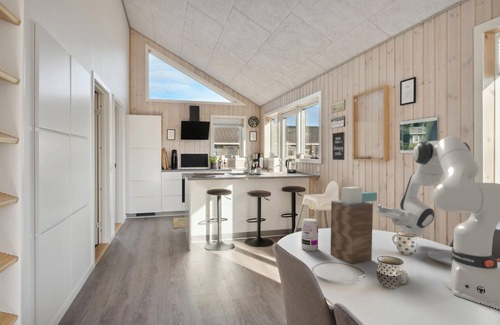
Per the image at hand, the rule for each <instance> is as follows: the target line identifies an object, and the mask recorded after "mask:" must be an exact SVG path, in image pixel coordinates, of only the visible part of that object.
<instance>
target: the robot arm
mask: <svg viewBox="0 0 500 325" xmlns="http://www.w3.org/2000/svg"><path fill="white" fill-rule="evenodd" d="M412 156H413V160H414V161H415V163H417V167H416V171H415V172H413V173H412V174H411V175H410V177H409V180H408V182H407V186H406V189H405V192H404V195H403V196H402V198H401V200H400V203H399V206H400V207H399V208H400V209H398V208H396V207H393V208H390V207H385V206H382V205H381V204H377V205H376V208H375V210H374V212H375V213H376V214H377V215H379V216H382V217H383V218H387V219H390V220H391V222H392V223H393V224H394V225H395V226H396V227H397V228H398V229H400V230H402V231H403V232H404V233H406V234H408V233H412V234H416V235H417V236H416V237H421V236H423V234H425V231H426V227H427V226H429V225H430V224H432V222H433V221H434V219H435V210H434V209H432V207H430V206H429V205H427V204H426V203H424V202H423V201H421V200H420V199H419V198H418V193H419V190H420V189H421V188H420V187H421V186H422V187H432V186H435V185H436V186H435V187H434V189H433V191H432V201H433V204H434V205H435V206H436V207H437V209H439V210H442V211H446V212H450V213H456V214H457V213H458V214H459V213H460V214H462V213H463V214H470V216H469V217H468V219H466V220H465V221H463V222H460V223H458V224H457V225H455V227H454V230H453V244H452V245H453V246H452V248H451V269H450V274H449V277H448V280H447V283H446V287H447V288H448V289H449V290H451V292H452V294H453V295H454V296H456V297H459V298H462V299H465V300H467V301H471V302H474V303H477V304H480V303H481V304H480V305H483V304H484V305H483V306H486V305H487V306H486V307H489V306H491V307H490V308H492V307H493V308H492V309H495V308H496V310H498V309H499V310H498V311H500V268H499V267H498V263H500V258H496V257H495V256H494V254H492V253H493V252H492V251H493V239H494V234H495V231H496V229H497V226H498V225H499V223H500V183H495V182H475V181H472V180H474V179H475V178H476V177H477V176H478V174H479V166H478V164H477V162H476V159H475V157H474V156H473V154H472V153H471V147H470V146H469V144H468V143H467V142H465V141H463V140H462V139H460V138H459V137H457V136H454V135H453V136H452V135H451V136H446V137H443V138H441V139H440V140H430V141H426V140H425V141H420V142H417V143H416V144H415V145H414V147H413V150H412ZM443 174H444V179H443V180H442V178H443ZM441 180H442V182H440V181H441Z"/></svg>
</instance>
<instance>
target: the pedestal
mask: <svg viewBox="0 0 500 325" xmlns="http://www.w3.org/2000/svg"><path fill="white" fill-rule="evenodd" d="M330 203H331V206H330V207H331V209H330V213H331V214H330V253H329V254H330V255H331V256H334V257H335V258H338V259H340V260H342V261H344V262H346V263H348V264H351V265H355V264H359V263H364V262H368V261H372V260H373V258H372V257H373V256H372V254H373V219H374V218H373V216H374V215H373V212H374V209H373V208H374V204H373V203H370V202H362V203H352V204H348V203H343V202H341V199H338V200H336V199H335V200H331V202H330Z"/></svg>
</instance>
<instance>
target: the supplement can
mask: <svg viewBox="0 0 500 325" xmlns="http://www.w3.org/2000/svg"><path fill="white" fill-rule="evenodd" d="M301 248H302V249H303V251H307V252H315V251H317V250H318V248H319V222H318V219H316V218H311V217H310V218H309V217H305V218H303V219H302V221H301Z"/></svg>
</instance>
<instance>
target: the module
mask: <svg viewBox="0 0 500 325" xmlns="http://www.w3.org/2000/svg"><path fill="white" fill-rule="evenodd" d="M340 200H341V202H343V203H348V204H352V203H362V202H366V203H369V202H377V200H378V192H377V191H367V192H363V187H359V186H342V187H341V197H340Z"/></svg>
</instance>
